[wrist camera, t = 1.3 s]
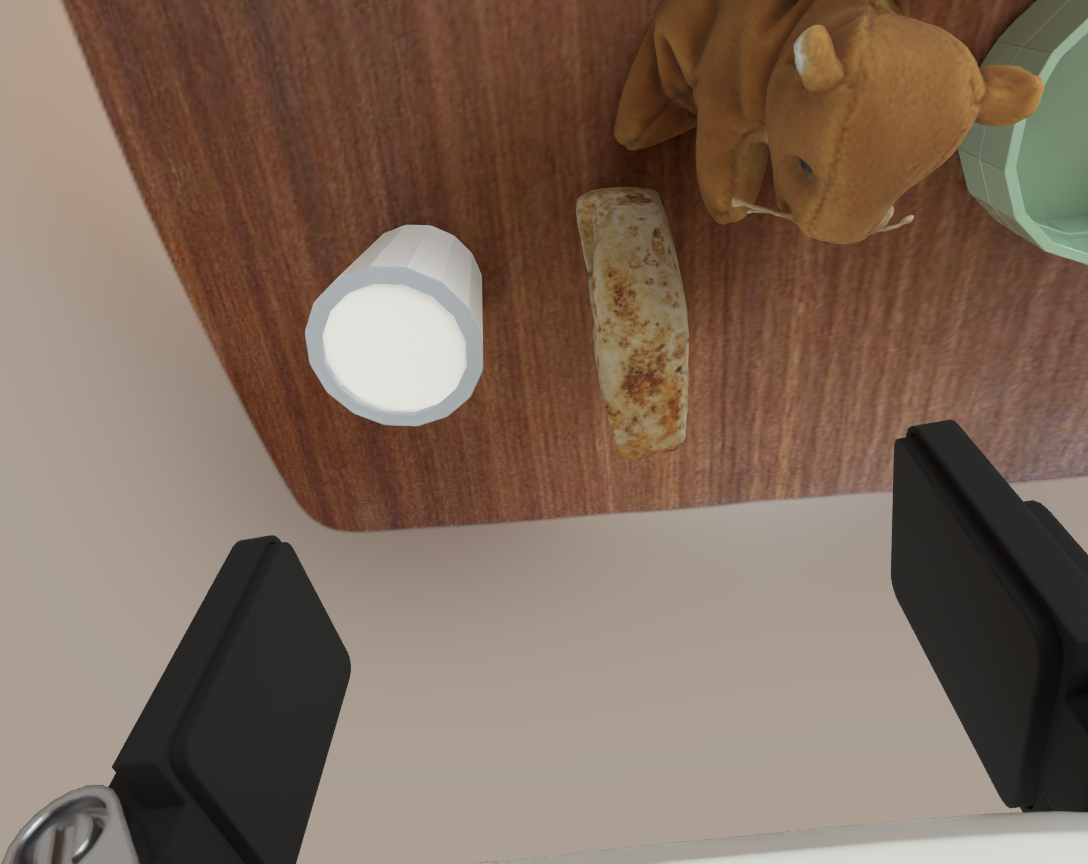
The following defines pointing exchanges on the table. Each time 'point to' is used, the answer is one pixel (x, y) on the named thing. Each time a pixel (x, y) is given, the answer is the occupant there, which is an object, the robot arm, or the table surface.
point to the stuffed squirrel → (813, 104)
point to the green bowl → (1039, 134)
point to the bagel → (636, 317)
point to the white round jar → (401, 328)
